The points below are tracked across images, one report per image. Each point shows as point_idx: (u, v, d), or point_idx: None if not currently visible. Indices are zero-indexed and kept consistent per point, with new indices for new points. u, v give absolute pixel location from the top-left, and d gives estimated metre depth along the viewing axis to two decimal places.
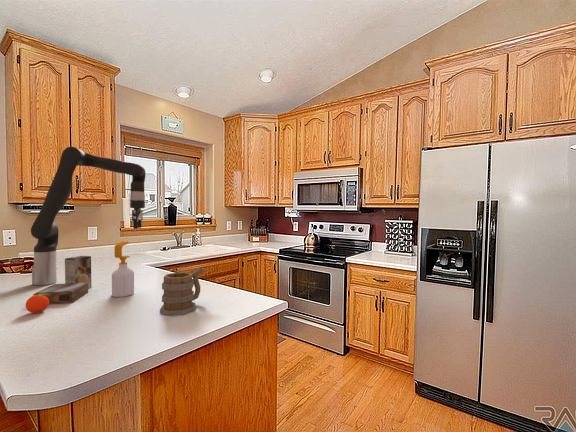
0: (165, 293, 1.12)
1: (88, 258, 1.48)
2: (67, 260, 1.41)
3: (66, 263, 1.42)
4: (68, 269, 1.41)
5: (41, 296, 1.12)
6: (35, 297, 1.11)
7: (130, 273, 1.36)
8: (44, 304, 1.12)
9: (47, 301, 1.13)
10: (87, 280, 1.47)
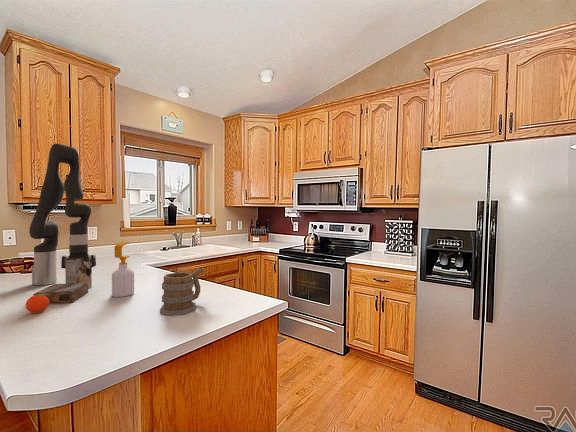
0: (165, 293, 1.12)
1: (88, 258, 1.48)
2: (68, 260, 1.41)
3: (67, 263, 1.41)
4: (69, 269, 1.41)
5: (41, 296, 1.12)
6: (35, 297, 1.11)
7: (130, 273, 1.36)
8: (44, 303, 1.12)
9: (47, 301, 1.13)
10: (88, 280, 1.47)
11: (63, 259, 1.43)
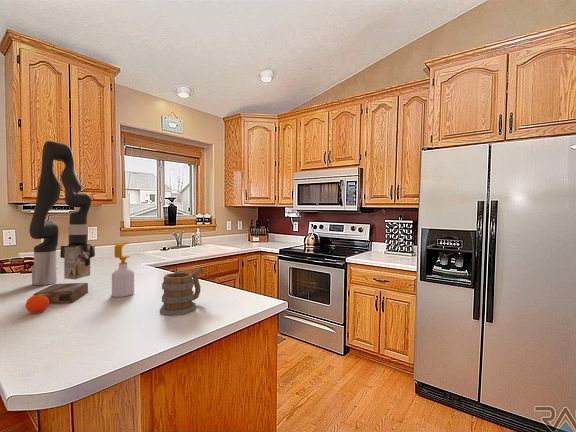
0: (165, 293, 1.12)
1: None
2: (67, 247, 1.41)
3: (66, 250, 1.41)
4: (68, 257, 1.41)
5: (41, 296, 1.12)
6: (35, 297, 1.11)
7: (130, 273, 1.36)
8: (44, 304, 1.12)
9: (47, 301, 1.13)
10: (86, 268, 1.47)
11: (62, 249, 1.43)
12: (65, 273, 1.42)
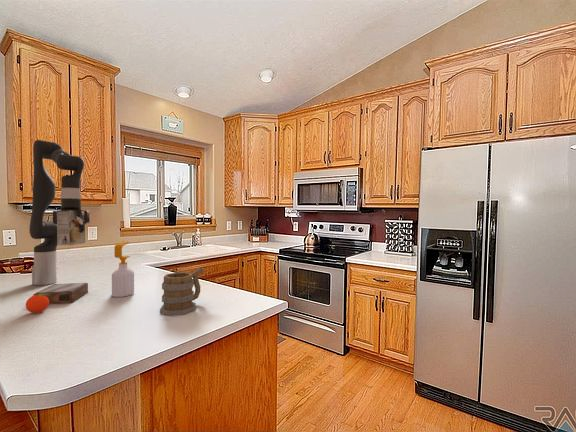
0: (165, 293, 1.13)
1: None
2: (60, 212, 1.33)
3: (58, 215, 1.33)
4: (61, 222, 1.33)
5: (41, 296, 1.12)
6: (35, 297, 1.11)
7: (130, 273, 1.36)
8: (44, 304, 1.12)
9: (47, 301, 1.13)
10: (81, 235, 1.40)
11: (54, 214, 1.35)
12: (58, 239, 1.34)
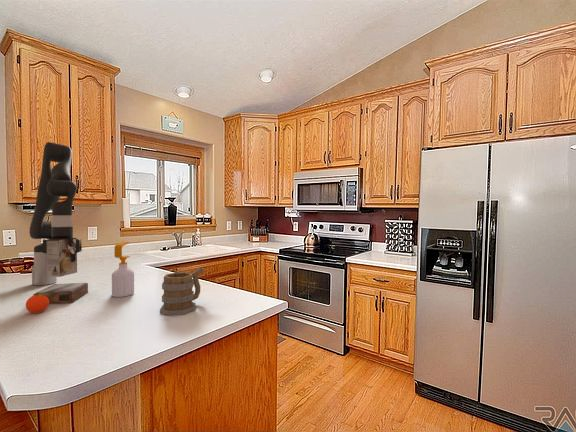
0: (165, 293, 1.13)
1: None
2: (49, 241, 1.26)
3: (48, 245, 1.26)
4: (51, 252, 1.26)
5: (41, 296, 1.12)
6: (35, 297, 1.11)
7: (130, 273, 1.36)
8: (44, 304, 1.12)
9: (47, 301, 1.13)
10: (73, 265, 1.32)
11: (44, 243, 1.27)
12: (48, 270, 1.26)
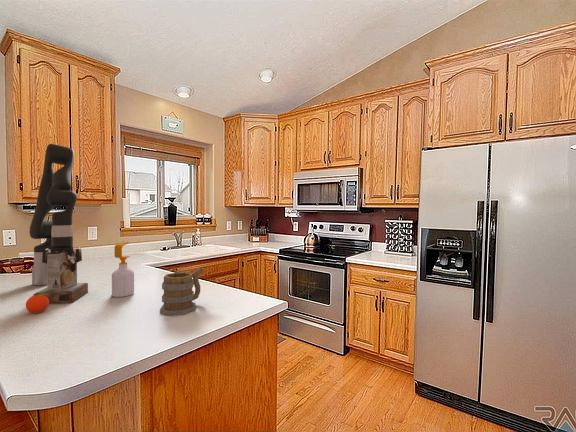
0: (165, 293, 1.12)
1: (73, 252, 1.33)
2: (50, 254, 1.26)
3: (49, 258, 1.26)
4: (51, 265, 1.26)
5: (41, 296, 1.12)
6: (35, 297, 1.11)
7: (130, 273, 1.36)
8: (44, 304, 1.12)
9: (47, 301, 1.13)
10: (73, 277, 1.32)
11: (44, 253, 1.27)
12: (48, 283, 1.26)
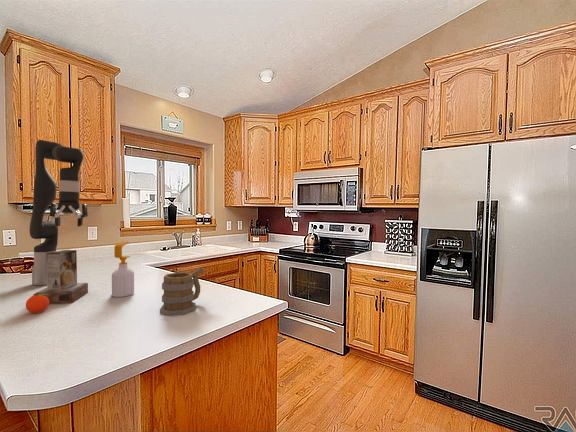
0: (165, 293, 1.12)
1: (73, 252, 1.33)
2: (50, 254, 1.26)
3: (49, 258, 1.26)
4: (51, 265, 1.26)
5: (41, 296, 1.12)
6: (35, 297, 1.11)
7: (130, 273, 1.36)
8: (44, 303, 1.12)
9: (47, 301, 1.13)
10: (73, 277, 1.32)
11: (52, 206, 1.33)
12: (48, 283, 1.26)
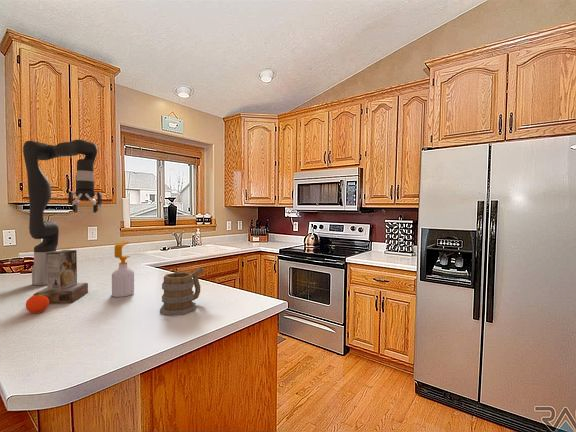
0: (165, 293, 1.12)
1: (73, 252, 1.33)
2: (50, 254, 1.26)
3: (49, 258, 1.26)
4: (51, 265, 1.26)
5: (41, 296, 1.12)
6: (35, 297, 1.11)
7: (130, 273, 1.36)
8: (44, 304, 1.12)
9: (47, 301, 1.13)
10: (73, 277, 1.32)
11: (70, 194, 1.46)
12: (48, 283, 1.26)
